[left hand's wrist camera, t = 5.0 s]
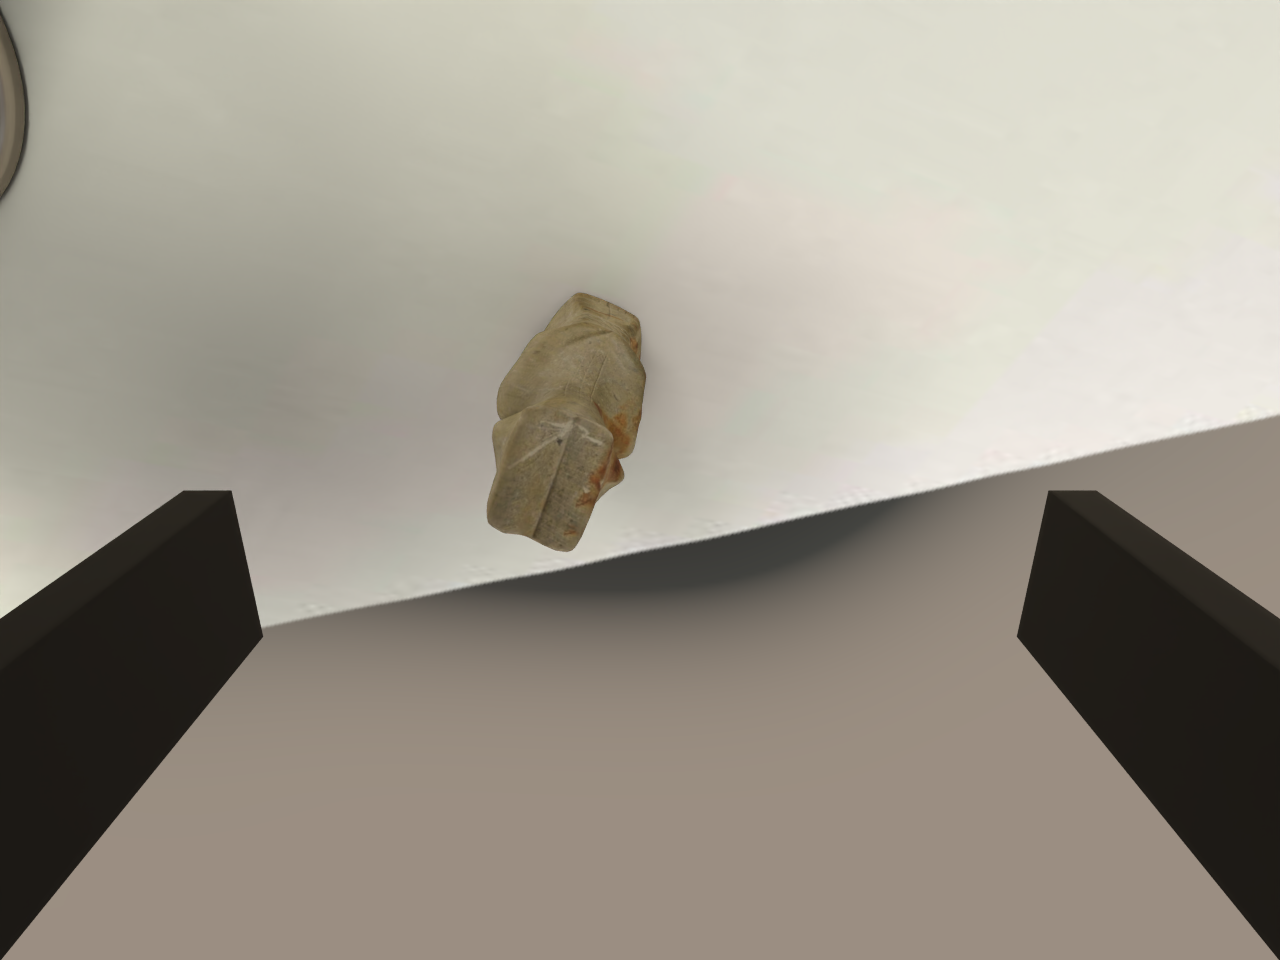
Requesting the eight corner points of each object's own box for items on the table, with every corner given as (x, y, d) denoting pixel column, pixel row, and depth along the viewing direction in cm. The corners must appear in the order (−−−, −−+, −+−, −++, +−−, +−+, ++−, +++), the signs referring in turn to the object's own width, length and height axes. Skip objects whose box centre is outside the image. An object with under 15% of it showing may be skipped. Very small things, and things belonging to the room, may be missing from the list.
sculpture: (504, 397, 40) (432, 520, 26) (561, 268, 37) (514, 326, 23) (607, 444, 40) (589, 587, 27) (668, 321, 38) (684, 407, 24)
